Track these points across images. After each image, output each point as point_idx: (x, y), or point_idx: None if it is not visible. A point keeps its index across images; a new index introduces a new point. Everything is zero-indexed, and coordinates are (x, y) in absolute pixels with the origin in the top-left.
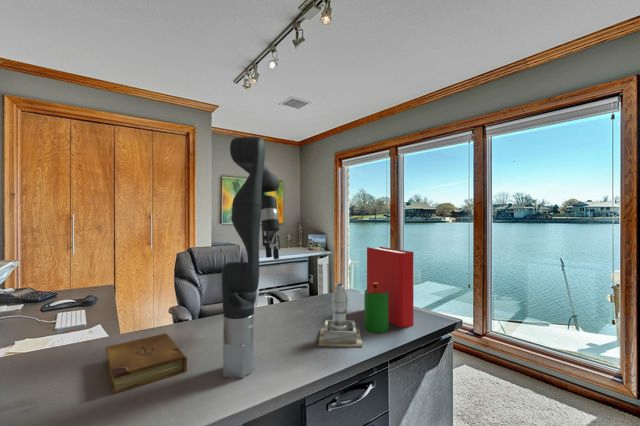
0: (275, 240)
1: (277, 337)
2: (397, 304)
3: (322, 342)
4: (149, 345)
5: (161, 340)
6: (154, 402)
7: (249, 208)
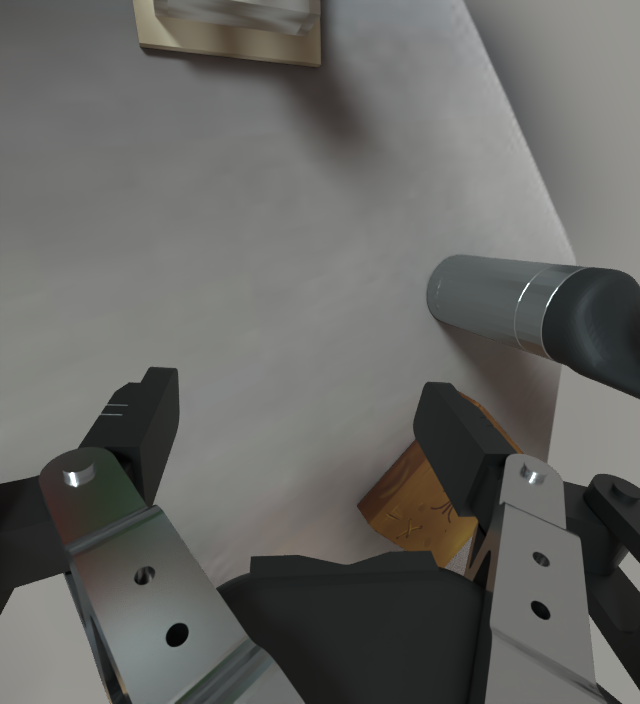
0: (242, 653)
1: (261, 246)
2: None
3: (306, 44)
4: (436, 507)
5: (413, 506)
6: (531, 377)
7: None
